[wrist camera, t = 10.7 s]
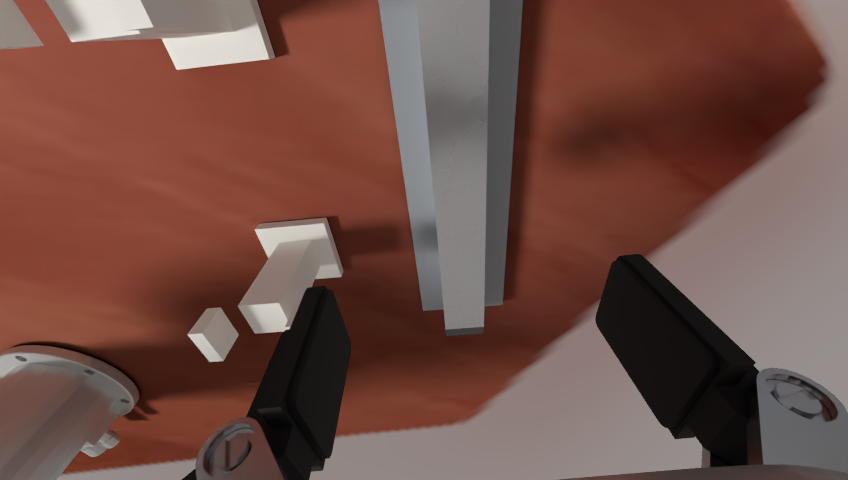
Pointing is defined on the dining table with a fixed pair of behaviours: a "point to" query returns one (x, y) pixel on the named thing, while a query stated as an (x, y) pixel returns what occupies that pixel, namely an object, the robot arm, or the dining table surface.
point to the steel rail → (458, 149)
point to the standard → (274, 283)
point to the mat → (414, 141)
